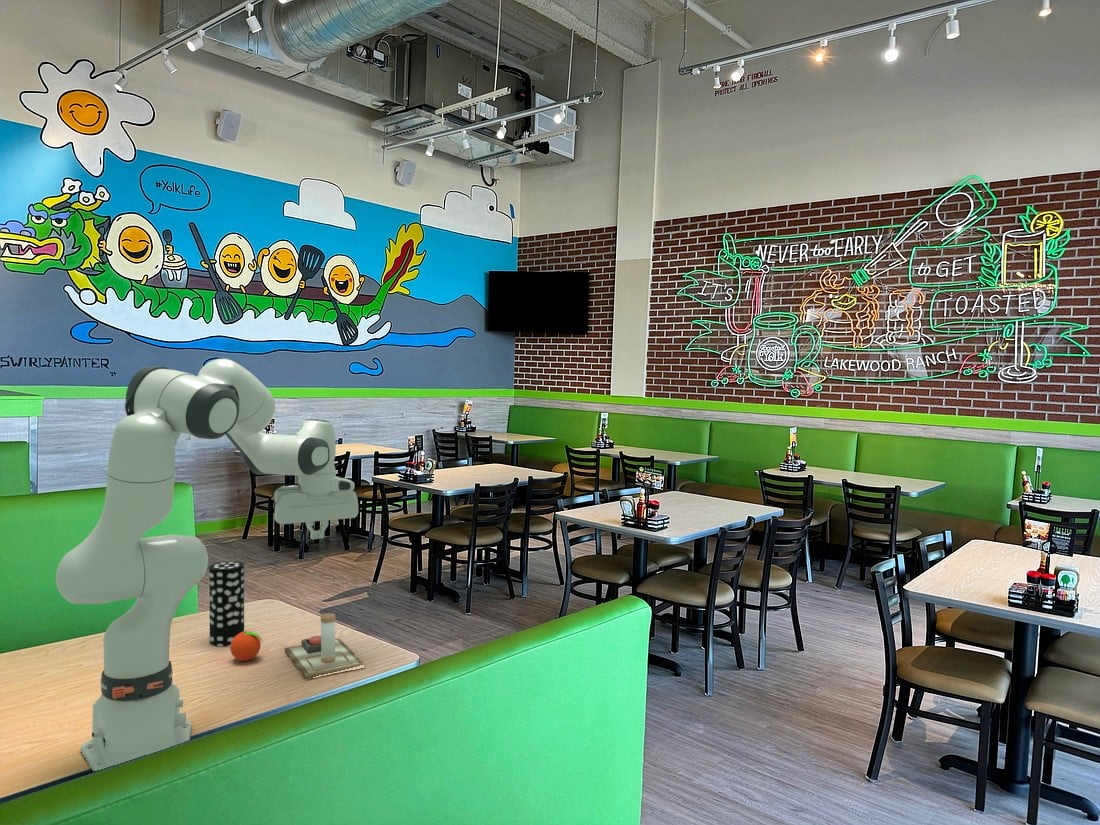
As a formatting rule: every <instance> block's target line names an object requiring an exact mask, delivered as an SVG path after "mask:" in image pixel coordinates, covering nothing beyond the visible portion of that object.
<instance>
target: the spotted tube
mask: <svg viewBox="0 0 1100 825" xmlns="http://www.w3.org/2000/svg"><path fill="white" fill-rule="evenodd" d="M208 567H209V568H208V570H209V571H208V576H209V577H208V578H209V584H208V585H209V587H208V588H209V591H208V592H209V593H208V594H209V595H208V596H209V605H208V606H209V644H210V645H211V644H212V645H211V646H213V645H214V647H219V646H224V647H228V646H227V645H231V642H232V640H233V639H234V637H235V636H236V635H238V634H239V633H241V632H245V563H243V562H241V561H235V560H234V561H229V560H228V561H221V562H216V563H212V564H210V565H208Z"/></svg>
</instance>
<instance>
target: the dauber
mask: <svg viewBox="0 0 1100 825" xmlns="http://www.w3.org/2000/svg"><path fill="white" fill-rule="evenodd" d="M320 636H321V662H322V663H331V662H334V661H335V639H336V614H335V613H333V612H325V613H322V614H320Z"/></svg>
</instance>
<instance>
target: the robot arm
mask: <svg viewBox="0 0 1100 825" xmlns="http://www.w3.org/2000/svg"><path fill="white" fill-rule="evenodd" d="M126 389H127V390H126V394H125V404H124V410H125V413H126V416H125V417H123V418H122V419H120V420H119V421H118V423H117V424H116V425H115V428H114V431H113V432H114V433H113V436H112V439H111V444H110V448H109V454H108V459H107V460H108V461H107V472H106V486H105V487H106V488H105V497H104V505H103V510H102V513H101V515H100V517H99V520H98V521H97V523H96V525H95V526H94V528H93V529H92V531H91V532H90V533H89V534H88V536H87V537H86V538H85V539H84V540H82V541H81V542H80V543H78V545H77V546H75V547H74V548H72V549H71V550H70V551H67V552H66V554H65V555H63V557H62V558H61V560H60V561H59V564H58V566H57V568H56V571H55V583H56V585H55V586H56V588H57V590H58V592H59V594H60V595H61V597H63V599H65V601H66V602H68V603H69V604H73V605H100V604H106V603H112V602H118V601H124V600H129V599H134V598H135V599H136V600H135V602H134V603H133V605H132V606H131V607H130V608H129V610H128V611H126V612H125V613H124V614H122V615H120V616H119V617H118V618H116V619H114V620H113V622H111V623H110V625H109V626H108V627H107V628H106V631H105V633H104V635H103V670H102V672H101V675H100V676H101V677H100V686H101V687H100V691H101V694H100V697H98V699H96V701H95V702H94V703H93V704H92V715H91V716H92V717H91V718H92V721H91V722H92V726H91V728H92V730H91V731H92V732H91V738H90V739H89V740H87V741H85V742H83V743H82V744H81V746H80V753H81V752H82V753H81V755H82V756H83V755H84V756H83V757H85V758H86V759H85V758H84V759H85V761H86V760H87V761H88V762H87V761H86V762H87V764H88V763H89V764H88V765H89V767H90V769H91V770H92V771H93V772H94V771H97V770H101V769H104V768H107V767H110V766H113V765H117V764H120V763H123V762H126V761H129V760H132V759H135V758H138V757H141V756H144V755H148V754H151V753H154V752H157V751H160V750H163V749H166V748H169V747H171V746H174V745H177V744H180V743H183V742H185V741H188V740H190V741H191V735H192V729H193V726H192V722H191V721H190V720H187V714H186V712H180V710H181V709H180V708H183V706H184V700H183V699H181V698H180V687H178V686H177V685H175V683H173V672H174V671H173V667H172V661H171V660H170V643H171V642H170V640H171V628H172V623H173V619H174V617H175V613H176V611H177V609H178V608H179V607H178V606H179V605H180V604H181V602H182V600H183V599H184V598H185V597H186V595H187V594H188V593H189V591H191V590H192V589H193V588H194V587H195V586H196V585H197V584H199V582H201V580H202V579H203V578H204V576H205V574H206V573H207V569H208V567H209V555H208V550H207V548H206V546H205V544H203V542H202V541H201V540H200V539H199V538H198V537H196V536H195V535H186V534H185V535H184V534H165V535H159V536H158V535H157V536H149V537H143V536H144V535H145V534H146V533H147V532H148V531H150V530H151V529H152V528H154V527H156V526H157V525H159V524H161V523H163V522H164V521H165V520H166V519H167V517H168V516H169V515H170V513H171V511H172V509H173V505H174V494H175V493H174V492H175V491H174V490H175V479H176V478H175V477H176V476H175V475H176V450H175V449H176V448H175V447H176V445H177V444H176V443H177V441H178V440H179V438H180V436H181V434H184V435H190V436H194V437H195V438H197V439H203V440H204V439H205V440H216V439H220V438H222V437H223V436H226V437H227V438H228V439H229V441H230V443H232V444H233V445H234V447H235V448H236V450H238V452H239V453H240V454H241V455H242V457H243V458H242V459H243V460H244V463H245V465H246V466H247V468H248V470H250V471H251V473H253V474H255V475H258V476H259V475H261V476H263V475H267V476H268V475H278V476H279V475H282V476H298V484H292V485H282V486H281V485H280V487H278V488H276V490H275V491H274V493H273V499H274V500H273V501H274V504H275V506H274V515H273V516H274V519H273V520H274V521H275V522H276V523H277V524H279V525H291V524H300V523H301V524H302V523H305V526H306V528H307V529H308V531H309V532H310V536H309V537H310V539H311V540H317V539H320V540H321V539H324V538H325V531H326V529H327V528H328V526H329V521H332V520H335V521H336V520H345V519H355V518H356V517H357V516H358V514H359V502H358V501H359V500H358V496H357V493H356V492H355V491H354V490H355V487H356V486H355V482H353V481H352V480H350V479H347V478H344V477H342V476H339V475H338V476H336V466H335V458H336V455H337V454H336V449H337V448H336V436H335V434H336V433H335V428H334V425H333V423H332V422H330V421H328V420H325V419H318V418H317V419H316V418H306V419H303V420H302V421H301V423H300V429H299V431H298V432H296V433H294V434H277V433H276V434H275V433H268V432H267V433H266V432H261V431H264V429H266V427H268V425H269V424H270V423H271V421H272V419H273V418H274V415H275V411H276V401H275V398H274V396H273V394H272V393H271V391H270V390H269V389H268V388H267V387H266V386H265V385H264V383H263V382H261V381H260V380H259V379H258V378H257V377H256V376H255V375H254V374H253V373H252V372H250V371H249V370H248V369H247V368H245V367H244V366H242V365H241V364H239V363H237V362H235V361H234V360H231V359H229V358H217V359H214V360H211V361H209V362H208V363H206V364H205V365H203V366H202V368H200V370H199V372H198V374H197V375H195V374H192V373H189V372H186V371H180V370H176V369H171V368H169V367H167V366H145V367H143V368H141V369H140V370H138V371H137V372H136V373H135V374H134V375H133V377H132V378H131V379H130V381H129V383H128V386H127V388H126ZM315 522H320V524H321V526H320V528H319V529H318V530H314V528H313V526H314V523H315Z"/></svg>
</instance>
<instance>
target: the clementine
mask: <svg viewBox="0 0 1100 825" xmlns="http://www.w3.org/2000/svg"><path fill="white" fill-rule="evenodd" d="M261 642H262V643H264V641H263V639H262V638H261V636H260V635H259V634H257V633H255V632H253V631H249V630H248V631H247V630H246V631H245V630H244V632H241V633H239V634H238V635H236V636H235V637H234V639H233V640H232V642H231V646H229V649H230V654H231V655H232V657H234V659H236V660H238V661H240V662H244V661H245V662H247V661H251V660H253V659H254V658H255V657H257V655H258V654H259V653H260V650H261V647H262V643H261Z"/></svg>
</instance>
